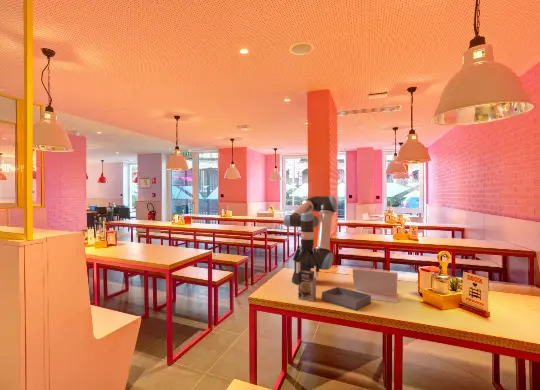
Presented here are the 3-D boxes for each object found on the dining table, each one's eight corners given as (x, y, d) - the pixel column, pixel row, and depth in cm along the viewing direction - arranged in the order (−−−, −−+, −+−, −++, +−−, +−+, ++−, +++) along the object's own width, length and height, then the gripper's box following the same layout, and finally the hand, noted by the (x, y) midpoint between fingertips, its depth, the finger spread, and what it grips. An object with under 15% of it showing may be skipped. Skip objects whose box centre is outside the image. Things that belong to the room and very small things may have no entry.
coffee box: (297, 299, 163) (298, 271, 163) (301, 295, 169) (302, 269, 169) (312, 301, 159) (312, 273, 159) (316, 298, 164) (316, 271, 165)
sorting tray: (322, 299, 162) (322, 292, 162) (337, 293, 173) (337, 286, 173) (356, 310, 146) (356, 302, 146) (370, 303, 157) (370, 295, 157)
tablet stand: (398, 303, 157) (397, 273, 158) (352, 297, 166) (352, 269, 167) (396, 293, 174) (396, 266, 174) (354, 288, 183) (354, 263, 184)
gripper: (287, 237, 171) (287, 272, 170) (320, 241, 153) (320, 280, 152) (295, 236, 176) (295, 270, 175) (328, 240, 158) (328, 278, 157)
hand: (307, 275), depth 164 cm, fingers open, 13 cm apart
